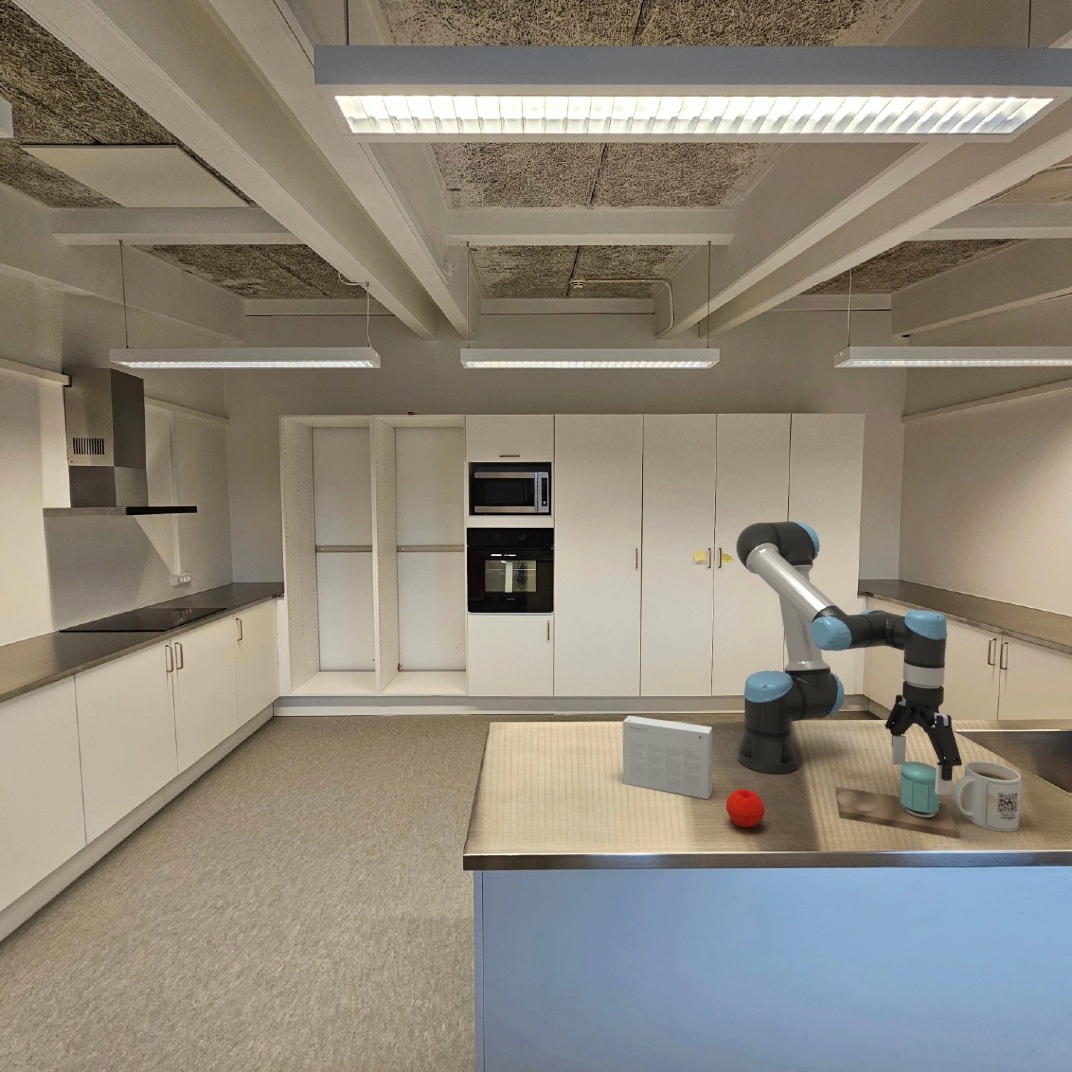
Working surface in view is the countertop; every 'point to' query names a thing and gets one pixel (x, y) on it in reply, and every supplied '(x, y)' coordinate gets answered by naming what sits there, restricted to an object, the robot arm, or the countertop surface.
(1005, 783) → the mug
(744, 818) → the apple
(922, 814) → the stud
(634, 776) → the skincare box
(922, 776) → the cap
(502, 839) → the countertop surface
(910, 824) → the board
